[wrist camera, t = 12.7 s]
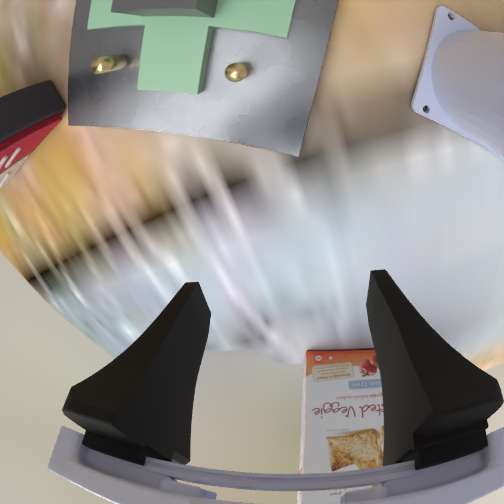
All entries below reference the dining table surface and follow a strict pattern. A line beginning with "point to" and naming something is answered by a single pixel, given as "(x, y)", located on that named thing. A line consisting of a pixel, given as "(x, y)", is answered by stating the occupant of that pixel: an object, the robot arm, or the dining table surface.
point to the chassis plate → (205, 82)
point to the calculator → (26, 124)
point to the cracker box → (340, 418)
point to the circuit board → (186, 33)
